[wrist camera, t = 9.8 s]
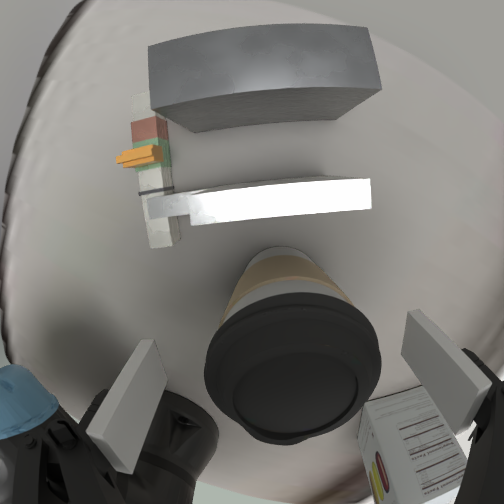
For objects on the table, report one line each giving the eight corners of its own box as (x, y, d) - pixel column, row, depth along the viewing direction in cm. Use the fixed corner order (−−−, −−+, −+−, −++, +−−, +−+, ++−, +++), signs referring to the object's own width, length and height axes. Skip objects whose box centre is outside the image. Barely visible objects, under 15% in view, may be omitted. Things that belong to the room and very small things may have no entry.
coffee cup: (248, 219, 24) (225, 289, 9) (345, 251, 24) (430, 343, 10) (219, 310, 26) (182, 436, 12) (308, 335, 27) (338, 462, 12)
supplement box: (362, 400, 29) (400, 511, 13) (425, 382, 29) (479, 474, 13) (356, 441, 32) (379, 533, 16) (411, 424, 31) (447, 506, 15)
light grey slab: (169, 210, 24) (114, 236, 14) (167, 193, 23) (109, 209, 14) (327, 193, 23) (371, 208, 13) (326, 175, 22) (369, 178, 13)
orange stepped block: (133, 168, 20) (117, 168, 17) (131, 153, 20) (115, 151, 17) (165, 161, 20) (152, 160, 17) (163, 146, 19) (150, 143, 17)
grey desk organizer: (159, 241, 25) (104, 282, 15) (142, 102, 21) (80, 72, 12) (345, 222, 24) (394, 254, 14) (329, 77, 20) (367, 27, 11)
